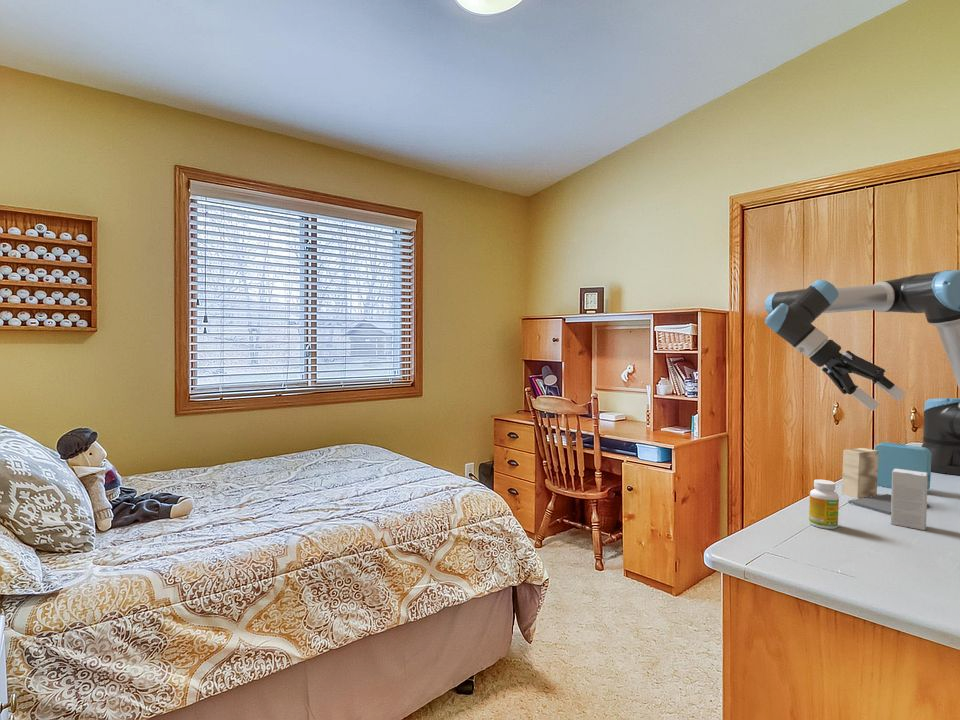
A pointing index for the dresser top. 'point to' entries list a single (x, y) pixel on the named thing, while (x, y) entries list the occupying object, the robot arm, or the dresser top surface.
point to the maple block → (860, 472)
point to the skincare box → (909, 498)
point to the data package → (901, 461)
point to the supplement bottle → (824, 505)
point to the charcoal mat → (876, 503)
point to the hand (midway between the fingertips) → (888, 402)
